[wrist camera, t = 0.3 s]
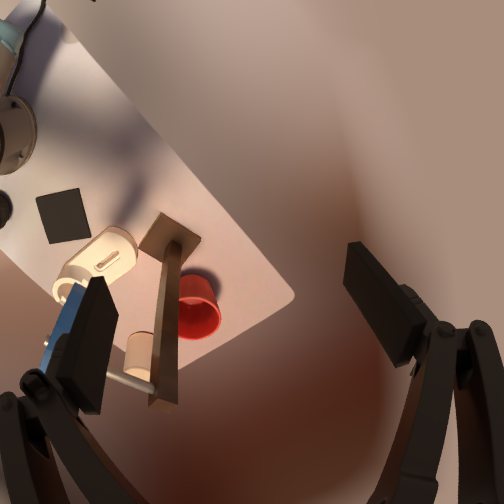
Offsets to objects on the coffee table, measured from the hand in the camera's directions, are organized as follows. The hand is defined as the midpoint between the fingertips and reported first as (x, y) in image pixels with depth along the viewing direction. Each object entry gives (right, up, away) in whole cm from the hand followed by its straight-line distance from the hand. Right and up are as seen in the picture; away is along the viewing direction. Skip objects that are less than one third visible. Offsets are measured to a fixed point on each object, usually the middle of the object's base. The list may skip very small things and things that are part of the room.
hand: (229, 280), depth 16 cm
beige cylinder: (-24, -27, +45) cm, 58 cm away
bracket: (-30, -1, +41) cm, 51 cm away
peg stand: (-17, +6, +40) cm, 44 cm away
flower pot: (-11, -6, +48) cm, 49 cm away
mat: (-35, +8, +35) cm, 50 cm away
